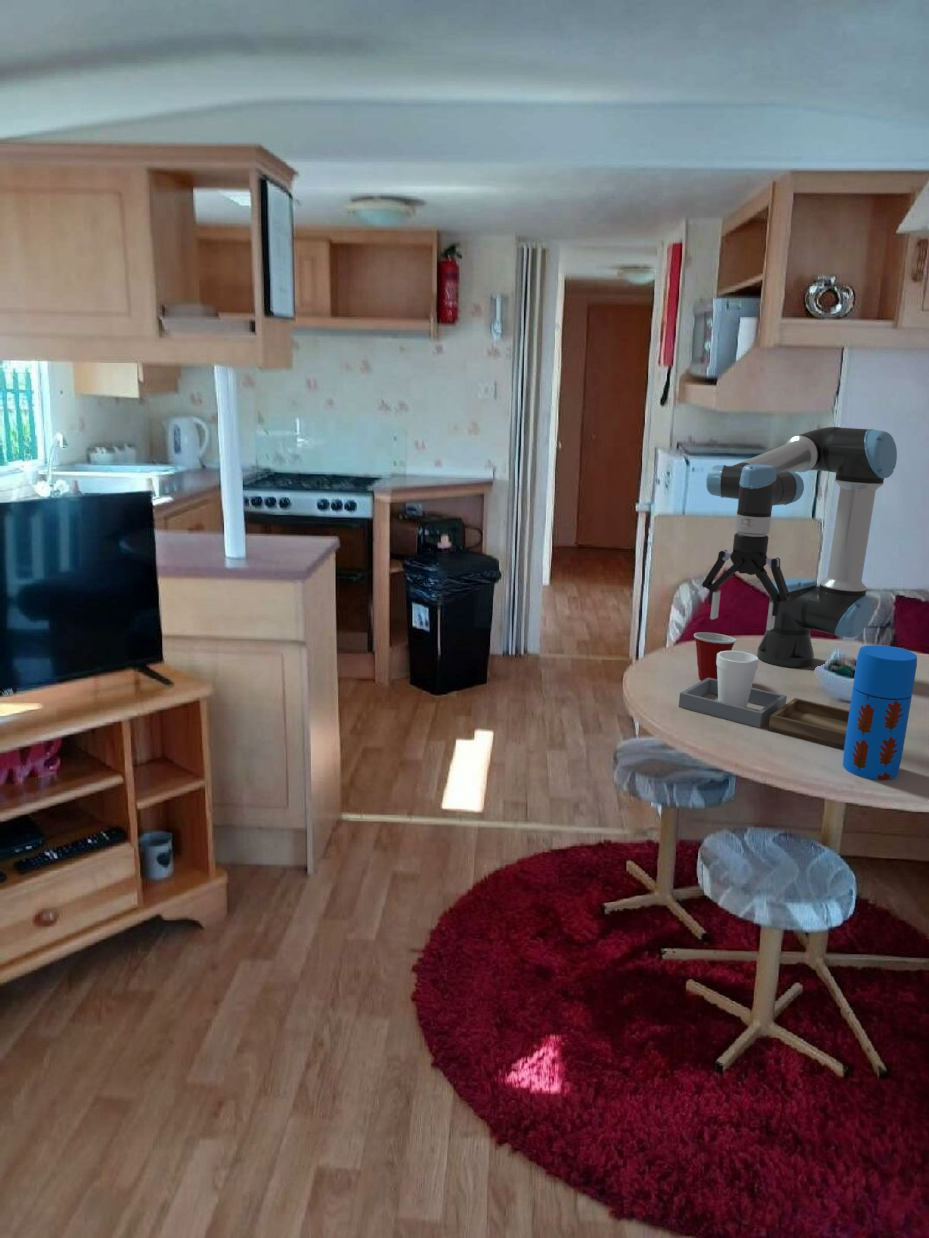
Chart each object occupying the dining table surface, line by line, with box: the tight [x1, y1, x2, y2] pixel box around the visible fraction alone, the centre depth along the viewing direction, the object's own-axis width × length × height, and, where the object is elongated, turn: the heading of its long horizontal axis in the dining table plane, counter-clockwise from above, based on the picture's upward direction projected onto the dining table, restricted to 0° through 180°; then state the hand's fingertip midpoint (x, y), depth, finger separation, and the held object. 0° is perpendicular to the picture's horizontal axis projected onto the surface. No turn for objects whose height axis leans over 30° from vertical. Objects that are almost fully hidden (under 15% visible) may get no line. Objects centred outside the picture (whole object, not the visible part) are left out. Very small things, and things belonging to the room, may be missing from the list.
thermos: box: [842, 644, 918, 781], centre depth 191 cm, size 11×11×25 cm
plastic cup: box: [693, 631, 737, 682], centre depth 246 cm, size 11×11×12 cm
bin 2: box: [768, 697, 850, 751], centre depth 213 cm, size 16×20×4 cm
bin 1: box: [678, 678, 788, 729], centre depth 226 cm, size 16×20×4 cm
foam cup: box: [716, 650, 759, 708], centre depth 225 cm, size 10×9×13 cm
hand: (741, 623), depth 221 cm, fingers open, 13 cm apart
